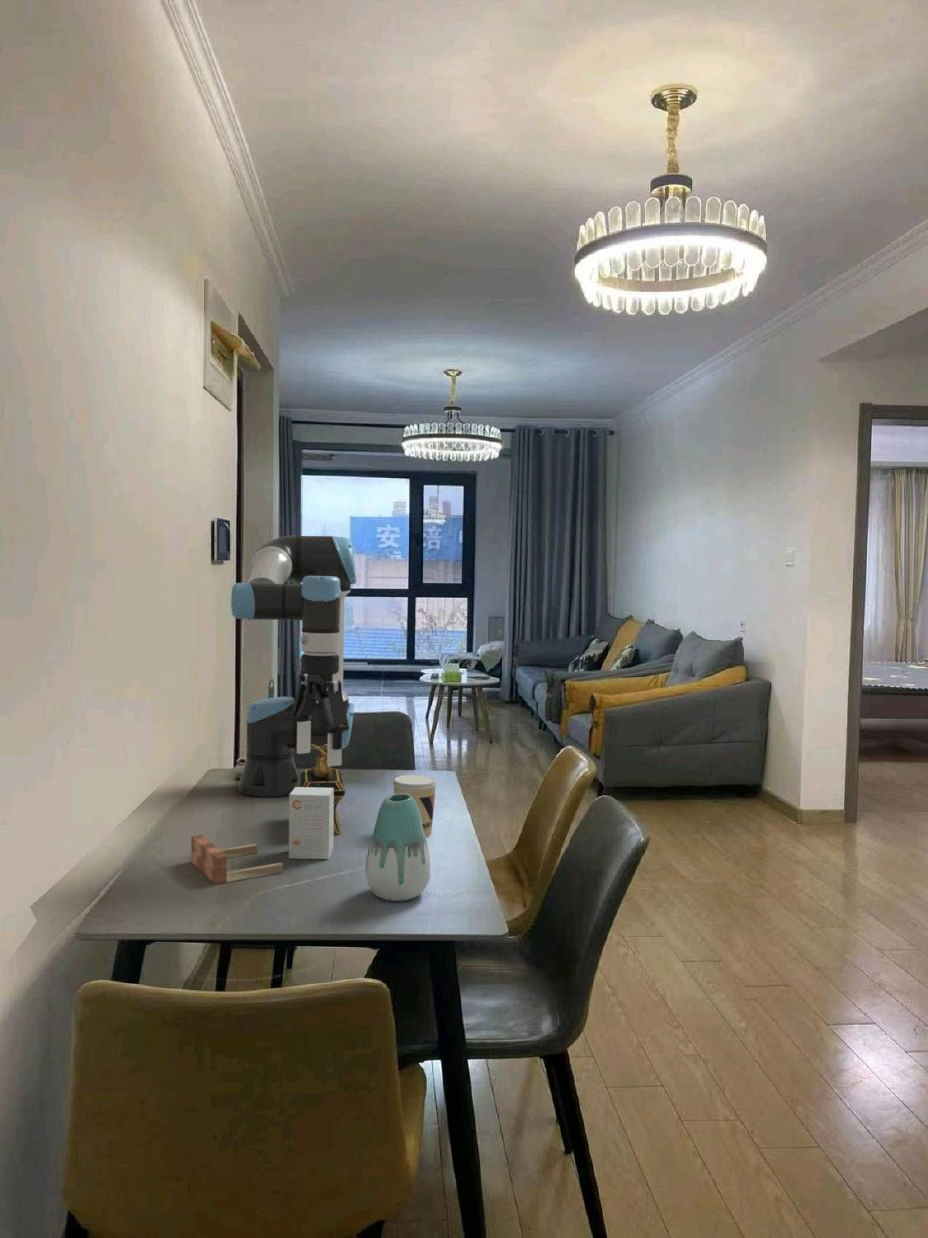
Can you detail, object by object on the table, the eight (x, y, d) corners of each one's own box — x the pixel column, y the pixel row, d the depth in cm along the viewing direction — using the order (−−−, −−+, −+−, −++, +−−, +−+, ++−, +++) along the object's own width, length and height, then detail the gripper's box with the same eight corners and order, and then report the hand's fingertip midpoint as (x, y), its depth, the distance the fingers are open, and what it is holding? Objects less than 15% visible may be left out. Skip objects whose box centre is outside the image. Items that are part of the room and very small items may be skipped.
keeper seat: (191, 861, 180) (191, 836, 180) (255, 851, 188) (255, 826, 187) (215, 884, 169) (216, 857, 168) (283, 872, 176) (283, 846, 175)
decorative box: (298, 816, 213) (299, 731, 212) (340, 815, 215) (341, 731, 214) (298, 843, 193) (299, 750, 192) (345, 842, 195) (346, 749, 194)
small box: (333, 850, 190) (334, 787, 189) (328, 860, 183) (329, 795, 183) (294, 848, 190) (294, 786, 189) (287, 859, 184) (288, 794, 183)
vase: (376, 910, 158) (378, 807, 157) (356, 887, 169) (358, 790, 167) (439, 902, 163) (442, 801, 162) (416, 880, 173) (418, 785, 172)
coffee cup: (429, 842, 197) (430, 786, 196) (386, 838, 199) (387, 782, 198) (439, 829, 206) (440, 776, 205) (398, 826, 208) (399, 773, 207)
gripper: (276, 648, 193) (275, 749, 194) (332, 660, 172) (330, 773, 174) (309, 647, 197) (307, 746, 198) (367, 658, 177) (365, 769, 178)
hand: (318, 759), depth 186 cm, fingers open, 13 cm apart
